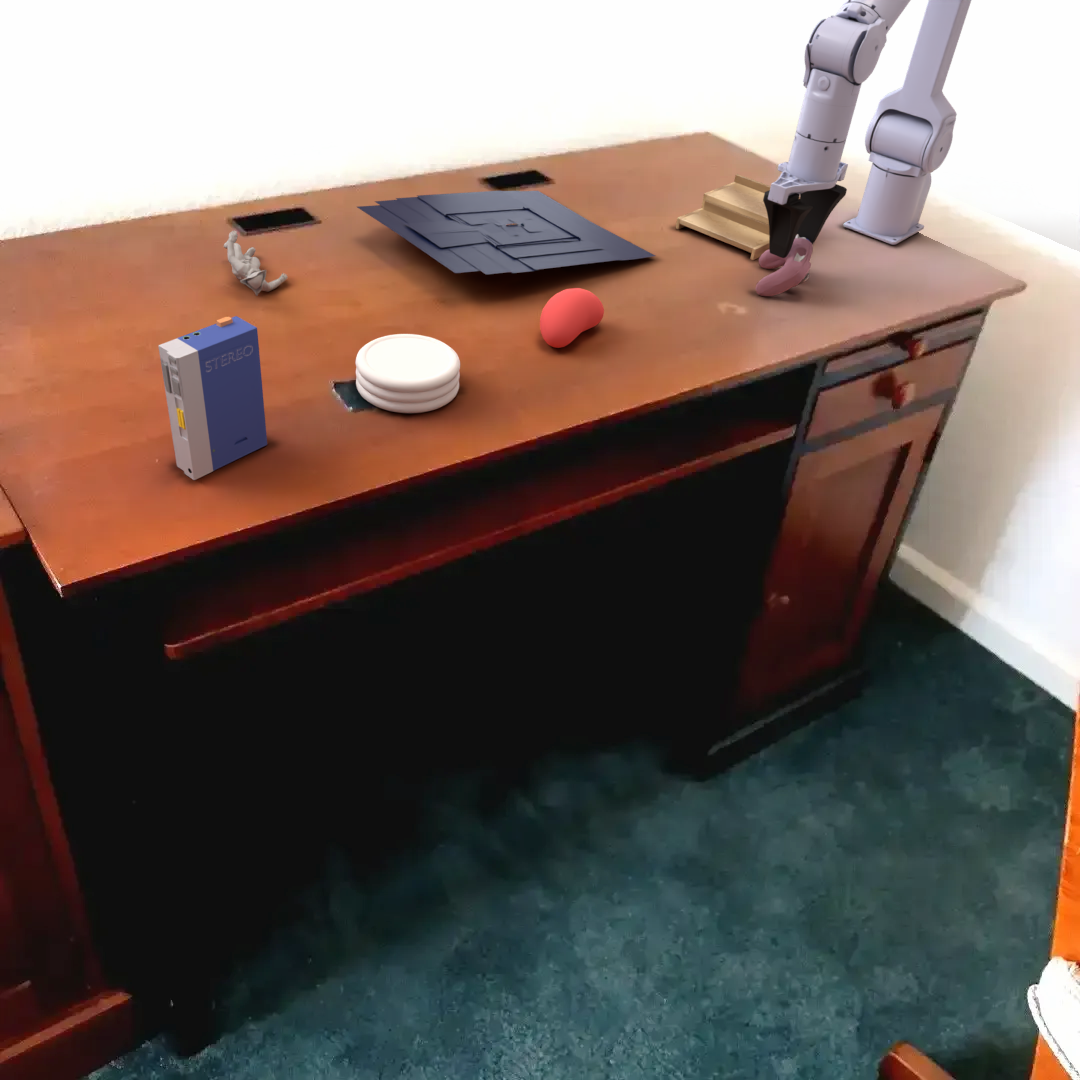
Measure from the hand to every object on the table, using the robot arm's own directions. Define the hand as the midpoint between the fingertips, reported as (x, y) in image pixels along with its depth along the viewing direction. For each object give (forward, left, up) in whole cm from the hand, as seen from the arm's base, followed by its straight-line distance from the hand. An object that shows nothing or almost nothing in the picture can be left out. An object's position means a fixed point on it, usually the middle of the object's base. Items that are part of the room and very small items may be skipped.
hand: (791, 248), depth 129 cm
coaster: (+53, -11, -5) cm, 54 cm away
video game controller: (+1, 0, -5) cm, 5 cm away
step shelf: (-9, -12, -4) cm, 16 cm away
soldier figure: (+51, -39, -5) cm, 64 cm away
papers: (+21, -28, -5) cm, 35 cm away
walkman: (+73, -13, -5) cm, 74 cm away
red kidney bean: (+32, -8, -5) cm, 33 cm away
